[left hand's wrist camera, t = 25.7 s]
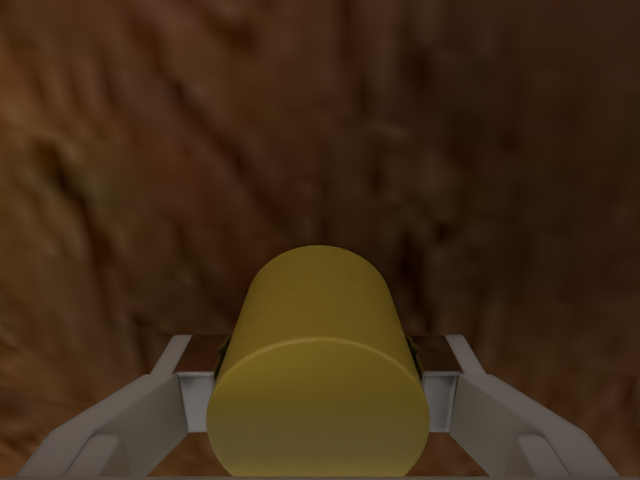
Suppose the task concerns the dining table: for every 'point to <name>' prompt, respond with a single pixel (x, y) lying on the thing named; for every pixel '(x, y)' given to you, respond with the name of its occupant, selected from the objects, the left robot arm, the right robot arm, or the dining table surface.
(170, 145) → the dining table surface
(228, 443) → the canister
